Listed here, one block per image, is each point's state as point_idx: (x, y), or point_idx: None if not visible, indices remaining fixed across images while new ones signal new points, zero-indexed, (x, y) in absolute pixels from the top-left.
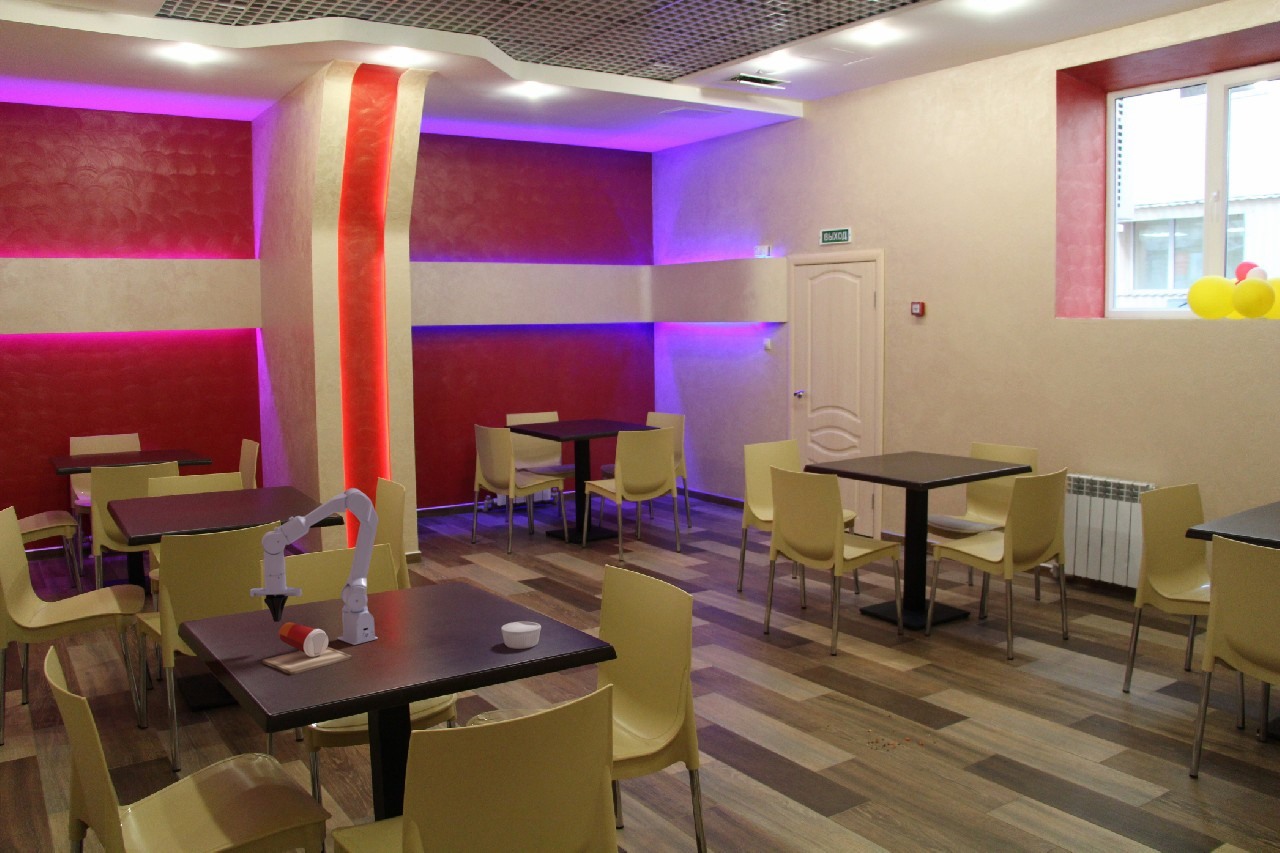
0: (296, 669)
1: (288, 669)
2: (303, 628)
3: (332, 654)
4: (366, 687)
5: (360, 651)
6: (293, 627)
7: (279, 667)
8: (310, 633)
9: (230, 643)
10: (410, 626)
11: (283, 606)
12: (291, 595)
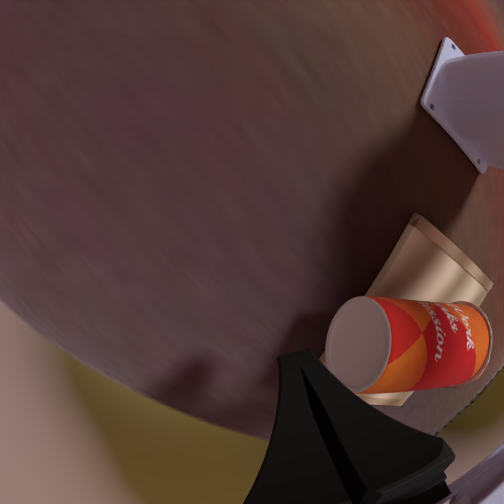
0: (407, 393)
1: (392, 402)
2: (450, 379)
3: (462, 291)
4: (492, 369)
5: (496, 222)
6: (416, 389)
7: (367, 402)
8: (465, 384)
9: (20, 256)
10: (490, 2)
11: (367, 413)
12: (483, 465)
